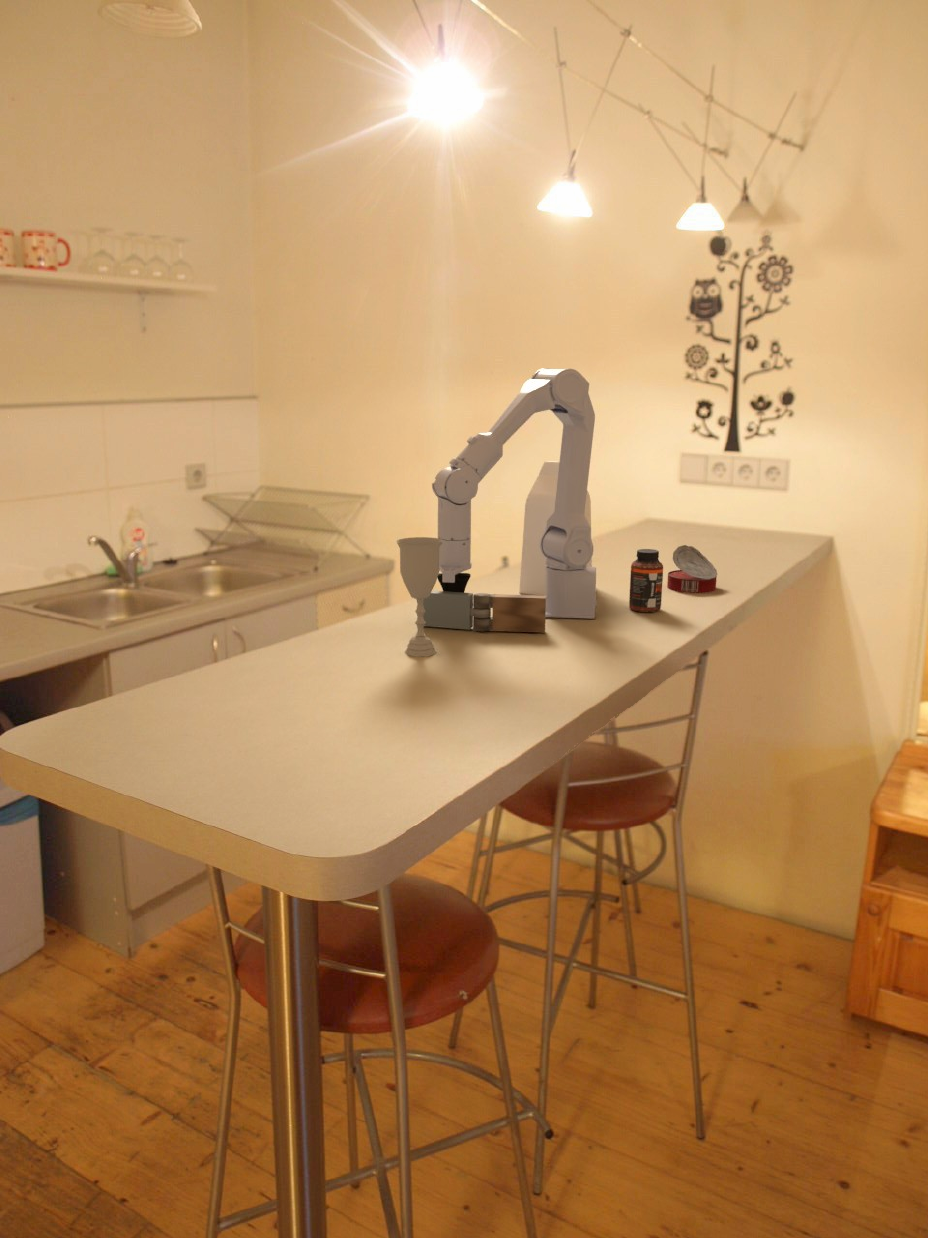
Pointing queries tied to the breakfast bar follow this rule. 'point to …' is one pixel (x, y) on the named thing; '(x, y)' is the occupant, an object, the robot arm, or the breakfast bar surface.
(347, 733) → the breakfast bar surface
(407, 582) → the chalice
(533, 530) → the milk
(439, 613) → the swing leaf
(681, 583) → the canned food
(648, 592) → the supplement bottle
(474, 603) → the fixed leaf
